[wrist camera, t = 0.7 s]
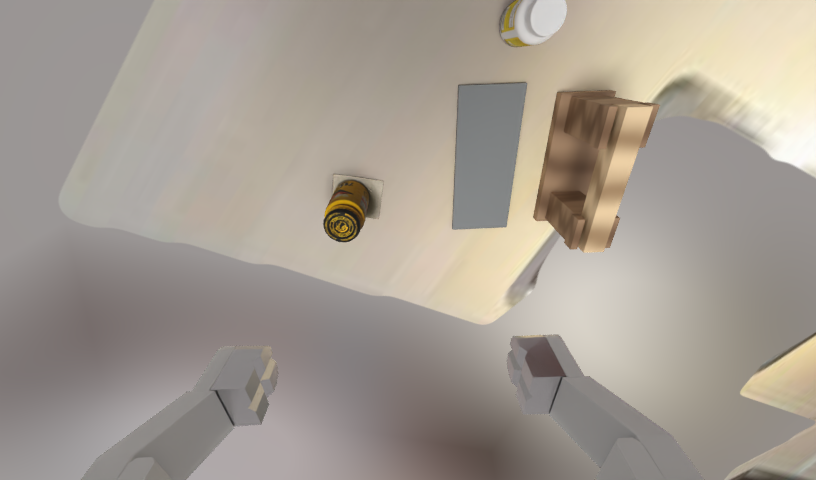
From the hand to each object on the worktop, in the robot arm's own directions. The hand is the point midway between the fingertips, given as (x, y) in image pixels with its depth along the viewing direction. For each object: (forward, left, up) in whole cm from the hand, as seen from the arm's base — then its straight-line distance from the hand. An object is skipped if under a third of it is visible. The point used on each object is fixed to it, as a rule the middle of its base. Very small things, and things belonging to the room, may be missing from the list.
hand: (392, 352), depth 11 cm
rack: (+7, +28, -44) cm, 53 cm away
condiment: (+12, -8, -44) cm, 46 cm away
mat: (+7, +14, -44) cm, 47 cm away
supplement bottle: (-12, +17, -44) cm, 49 cm away
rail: (+7, +28, -32) cm, 44 cm away
